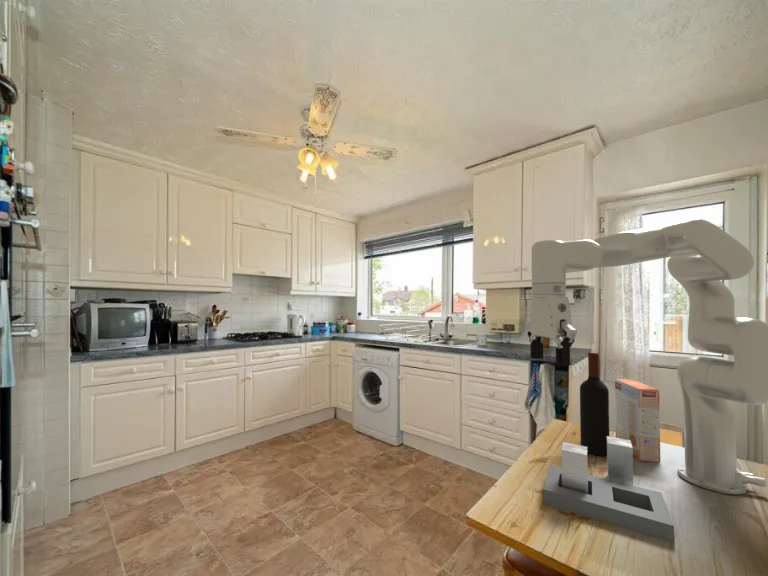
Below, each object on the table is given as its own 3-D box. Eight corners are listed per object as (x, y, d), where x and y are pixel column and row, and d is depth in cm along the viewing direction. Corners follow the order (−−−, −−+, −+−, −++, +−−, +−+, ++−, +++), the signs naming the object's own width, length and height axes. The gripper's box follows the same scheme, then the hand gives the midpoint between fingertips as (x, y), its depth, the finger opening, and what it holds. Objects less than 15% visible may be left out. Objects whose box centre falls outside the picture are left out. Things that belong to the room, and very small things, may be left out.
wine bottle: (575, 446, 105) (573, 351, 106) (597, 445, 106) (595, 351, 107) (592, 457, 97) (591, 355, 99) (616, 456, 98) (614, 355, 100)
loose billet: (631, 485, 83) (630, 440, 83) (633, 494, 79) (632, 447, 79) (607, 479, 85) (606, 436, 86) (608, 488, 81) (607, 442, 82)
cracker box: (662, 463, 94) (660, 389, 95) (638, 461, 95) (636, 388, 96) (635, 443, 108) (634, 378, 109) (615, 441, 109) (613, 377, 110)
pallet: (661, 511, 72) (661, 492, 73) (674, 548, 61) (673, 525, 62) (549, 481, 84) (549, 465, 84) (543, 507, 73) (543, 489, 73)
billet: (588, 495, 76) (587, 446, 77) (588, 506, 72) (587, 455, 72) (563, 488, 79) (562, 441, 79) (562, 499, 75) (561, 449, 75)
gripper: (589, 290, 73) (590, 368, 72) (540, 292, 90) (541, 356, 89) (558, 289, 72) (559, 369, 71) (515, 292, 89) (515, 356, 88)
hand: (549, 361), depth 80 cm, fingers open, 9 cm apart
